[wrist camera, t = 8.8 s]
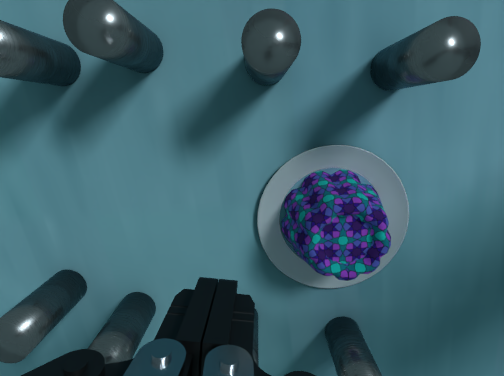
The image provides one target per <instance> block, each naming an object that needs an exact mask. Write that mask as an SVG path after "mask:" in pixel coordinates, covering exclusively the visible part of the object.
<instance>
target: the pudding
mask: <svg viewBox="0 0 504 376" xmlns="http://www.w3.org/2000/svg"><path fill="white" fill-rule="evenodd" d="M326 168H342V169H347V170H351V171H353V172H356V173H358V174H360V175H361V176H363V177H364V178H366V179H367V180H368V181H369V182H370V183H371V184H372V185H373V186H374V188H375V189H376V190H375V189H374V188H373V187H372V186H371V185H366V184H361V182H360V180H359V178H358V176H357V175H356V174H354V173H352V172H351V171H347V170H339V171H337V172H335V173H334V174H332V175H330V174H327V173H325V172H323V171H320V172H315V173H312V172H314V171H317V170H321V169H326ZM310 173H312V174H310ZM308 174H310V175H309V176H308V177H306V178H305V180H304V182H303V185H302V187H301V188H297V189H294V190H292V191H291V192H290V193H289V194H288V195H287V193H288V192H289V190H290V189H291V188H292V186H293V185H294V184H295V183H296V182H297V181H299V180H300V179H301V178H303V177H304V176H306V175H308ZM376 191H377V192H378V194H377V192H376ZM286 195H287V197H286V199H285V203H284V207H285V210H286V213H287V215H286V216H285V217H284V219H283V220H282V222H281V225H282V232H283V234H284V236H285V238H286V239H287V240H288V241H289V242H290V243H292V244H293V245H294V251H295V252H296V253H297V254H298V255H299V256H300V257H301V258H300V257H298V256H297V255H296V254H295V253H294V252H292V250H291V249H290V248H289V247H288V246H287V244H286V242H285V240H284V239H283V236H282V233H281V230H280V223H279V219H280V210H281V206H282V203H283V200H284V198H285V196H286ZM378 195H379V196H378ZM379 197H380V199H381V201H380V199H379ZM408 221H409V203H408V199H407V195H406V191H405V189H404V187H403V184H402V182H401V180H400V178H399V177H398V176H397V174H396V173H395V171H394V170H393V169H392V168H391V167H390V166H389V165H388V164H387V163H386V162H385V161H384V160H382V159H381V158H379V157H378V156H376V155H374V154H373V153H371V152H368V151H366V150H363V149H361V148H357V147H352V146H347V145H329V146H322V147H317V148H314V149H311V150H308V151H305V152H303V153H301V154H299V155H297V156H296V157H294V158H292V159H291V160H289V161H288V162H287V163H286V164H284V165H283V166H282V167H281V168H280V169H279V170H278V171H277V172H276V173H275V174H274V175H273V177H272V178H271V180H270V181H269V183H268V184H267V186H266V188H265V190H264V192H263V195H262V197H261V200H260V204H259V208H258V218H257V226H258V232H259V238H260V241H261V243H262V246H263V249H264V251H265V252H266V254H267V256H268V257H269V259H270V260H271V261H272V263H273V264H274V265H275V266H276V267H277V268H278V269H279V270H280V271H281V272H283V273H284V274H285V275H286V276H288V277H290V278H291V279H293V280H295V281H297V282H299V283H302V284H305V285H308V286H312V287H317V288H340V287H347V286H350V285H354V284H357V283H360V282H362V281H364V280H366V279H368V278H370V277H372V276H373V275H375V274H376V273H377V272H379V271H380V270H381V269H383V268H384V267H385V266H386V265H387V264H388V263H389V262H390V261H391V259H392V258H393V257H394V256H395V254H396V253H397V252H398V250H399V248H400V246H401V244H402V242H403V240H404V237H405V234H406V231H407V228H408Z"/></svg>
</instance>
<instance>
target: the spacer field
mask: <svg viewBox="0 0 504 376" xmlns="http://www.w3.org/2000/svg"><path fill="white" fill-rule="evenodd" d="M63 25H64V29H65V32H66V34H67V37H68V38H69V40H70V41H71V43H72V44H73V45H74V46H75V47H76V48H77V49H79V50H80V51H82V52H84V53H86V54H89V55H92V56H95V57H98V58H100V59H103V60H106V61H109V62H112V63H114V64H117V65H120V66H123V67H126V68H128V69H131V70H134V71H137V72H140V73H148V72H151V71H153V70H155V69H156V68H157V67H158V66H159V65H160V63H161V61H162V58H163V46H162V43H161V41H160V39H159V38H158V36H157V35H156V34H155V33H153V32H152V31H151V30H150V29H148V28H147V27H146V26H145V25H143V24H142V23H141V22H140V21H138V20H137V19H136V18H134V17H133V16H132V15H131V14H129V13H128V12H127V11H126V10H124V9H123V8H122V7H121V6H119V5H118V4H117V3H116V2H114V1H113V0H69V1H68V2H67V4H66V6H65V9H64V13H63ZM241 43H242V50H243V54H244V59H245V63H246V68H247V72H248V74H249V76H250V77H251V78H252V79H253V80H254V81H255V82H257V83H259V84H261V85H272V84H275V83H276V82H278V81H279V80H280V79H282V77H283V76H284V75H285V73H286V72H287V70H288V69H289V68H290V66H291V65H292V63H293V62H294V60H295V59H296V57H297V55H298V53H299V50H300V46H301V35H300V31H299V28H298V25H297V23H296V22H295V20H294V19H293V18H292V17H291V16H290V15H289V14H287V13H286V12H284V11H281V10H278V9H265V10H262V11H260V12H258V13H256V14H255V15H253V16H252V17H251V18H250V19H249V21H248V22H247V23H246V25H245V27H244V30H243V33H242V42H241ZM480 45H481V42H480V35H479V32H478V30H477V28H476V27H475V26H474V24H473V23H472V22H470V21H469V20H467V19H465V18H463V17H458V16H451V17H446V18H443V19H441V20H439V21H437V22H435V23H433V24H431V25H429V26H427V27H425V28H423V29H422V30H420V31H418V32H416V33H414V34H412V35H410V36H408V37H406V38H404V39H402V40H400V41H398V42H396V43H394V44H392V45H390V46H388V47H386V48H385V49H383V50H381V51H380V52H379V53H378V54H377V55H376V56H375V58H374V59H373V61H372V64H371V77H372V80H373V81H374V83H375V84H376V85H377V86H378V87H379V88H381V89H384V90H397V89H402V88H408V87H414V86H419V85H425V84H430V83H436V82H442V81H447V80H453V79H456V78H459V77H460V76H462V75H464V74H465V73H466V72H468V71H469V70H470V69H471V68H472V66H473V65H474V64H475V62H476V60H477V58H478V55H479V52H480ZM80 70H81V65H80V60H79V57H78V55H77V54H76V52H75V51H74V50H73V49H72V48H71V47H70V46H68V45H66V44H64V43H61V42H58V41H56V40H53V39H50V38H48V37H45V36H42V35H39V34H37V33H34V32H31V31H29V30H26V29H23V28H20V27H18V26H15V25H12V24H9V23H7V22H4V21H1V20H0V77H2V78H9V79H16V80H23V81H30V82H37V83H44V84H51V85H58V86H67V85H70V84H72V83H74V82H75V81H76V80H77V78H78V77H79V74H80ZM86 291H87V285H86V281H85V280H84V278H83V277H82V276H81V275H80V274H79V273H77V272H75V271H72V270H62V271H59V272H58V273H56V274H55V275H54V276H53V277H51V278H50V279H49V280H47V281H46V282H45V283H44V284H42V285H41V286H40V287H39V288H37V289H36V290H35V291H34V292H32V293H31V294H30V295H29V296H27V297H26V298H25V299H24V300H22V301H21V302H20V303H19V304H17V305H16V306H15V307H14V308H12V309H11V310H10V311H9V312H7V313H6V314H5V315H3V316H2V317H1V318H0V361H1V362H4V363H17V362H19V361H22V360H23V359H24V358H25V357H26V356H27V355H28V354H29V353H30V352H31V351H32V350H33V349H34V348H35V347H36V346H37V345H38V344H39V343H40V342H41V341H42V339H43V338H44V337H45V336H46V335H47V334H48V333H49V332H50V331H51V330H52V329H53V328H54V327H55V326H56V325H57V324H58V323H59V322H60V321H61V319H62V318H63V317H64V316H65V315H66V314H67V313H68V312H69V311H70V310H71V309H72V308H73V307H74V306H75V305H76V304H77V303H78V302H79V301H80V299H81V298H82V297H83V296H84V295H85V293H86ZM155 311H156V306H155V303H154V301H153V300H152V298H151V297H150V296H148V295H147V294H144V293H141V292H133V293H130V294H128V295H127V296H126V297H125V298H124V299H123V300H122V302H121V303H120V304H119V306H118V307H117V309H116V310H115V311H114V313H113V314H112V316H111V317H110V318H109V320H108V321H107V323H106V324H105V325H104V327H103V328H102V329H101V331H100V332H99V334H98V335H97V336H96V338H95V339H94V341H93V342H92V343H91V345H90V346H89V348H88V349H92V350H96V351H98V352H100V353H101V354H102V355H103V357H104V359H105V364H109V363H115V362H121V361H126V360H130V359H132V357H133V355H134V353H135V351H136V350H137V348H138V346H139V344H140V342H141V340H142V338H143V336H144V334H145V332H146V330H147V328H148V326H149V324H150V322H151V320H152V318H153V316H154V314H155ZM325 336H326V340H327V343H328V346H329V349H330V353H331V356H332V359H333V362H334V365H335V369H336V372H337V375H338V376H382V375H381V373H380V371H379V369H378V366H377V364H376V362H375V360H374V358H373V356H372V354H371V352H370V350H369V348H368V346H367V344H366V341H365V339H364V337H363V335H362V333H361V331H360V329H359V327H358V325H357V323H356V322H355V321H354V320H353V319H351V318H348V317H337V318H334V319H333V320H331V321H330V322H329V323H328V324H327V326H326V328H325ZM253 358H254V361H255V363H256V364H257V366H258V313H257V311H256V309H255V308H254V332H253Z"/></svg>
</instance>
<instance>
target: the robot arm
mask: <svg viewBox="0 0 504 376" xmlns="http://www.w3.org/2000/svg"><path fill="white" fill-rule="evenodd" d="M237 282H238V281H235V280H225V279H219V282H218V279H214V278H204V277H200V278H199V280H198V282H197V285H196V287H195V290H191V289H183V290H182V291H181V292H180V293H178V294H177V295H176V296H175V297H174V299H173V302H172V304H171V307H170V308H169V310H168V312H167V314H166V316H165V318H164V320H163V322H162V324H161V327H160V329H159V331H158V333H157V335H156V337H155V339H154V340H153V341H151V342H149V343H147V344H145V345H144V346H143V347H142V348H141V349H140V350H139V351H138V353H137V354H136V356H135V357H134V358H133V359H130V360H126V361H121V362H115V363H109V364H105V359H104V357H103V355H102V354H101V353H100V352H98V351H96V350H92V349H81V350H76V351H72V352H69V353H67V354H65V355H63V356H61V357H59V358H56V359H54V360H52V361H50V362H48V363H46V364H44V365H42V366H40V367H38V368H36V369H34V370H32V371H30V372H27V373H25V374H23V375H21V376H271V375H269V374H267V373H265V372H264V371H263V370H261V369H260V368H259V367H258V366H257V364H256V363H255V361H254V358H253V332H254V307H255V303H254V302H253V300H252V298H251V297H250V295H244V294H237ZM285 376H315V375H313V374H311V373H308V372H304V371H294V372H290V373H288V374H286V375H285Z"/></svg>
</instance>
